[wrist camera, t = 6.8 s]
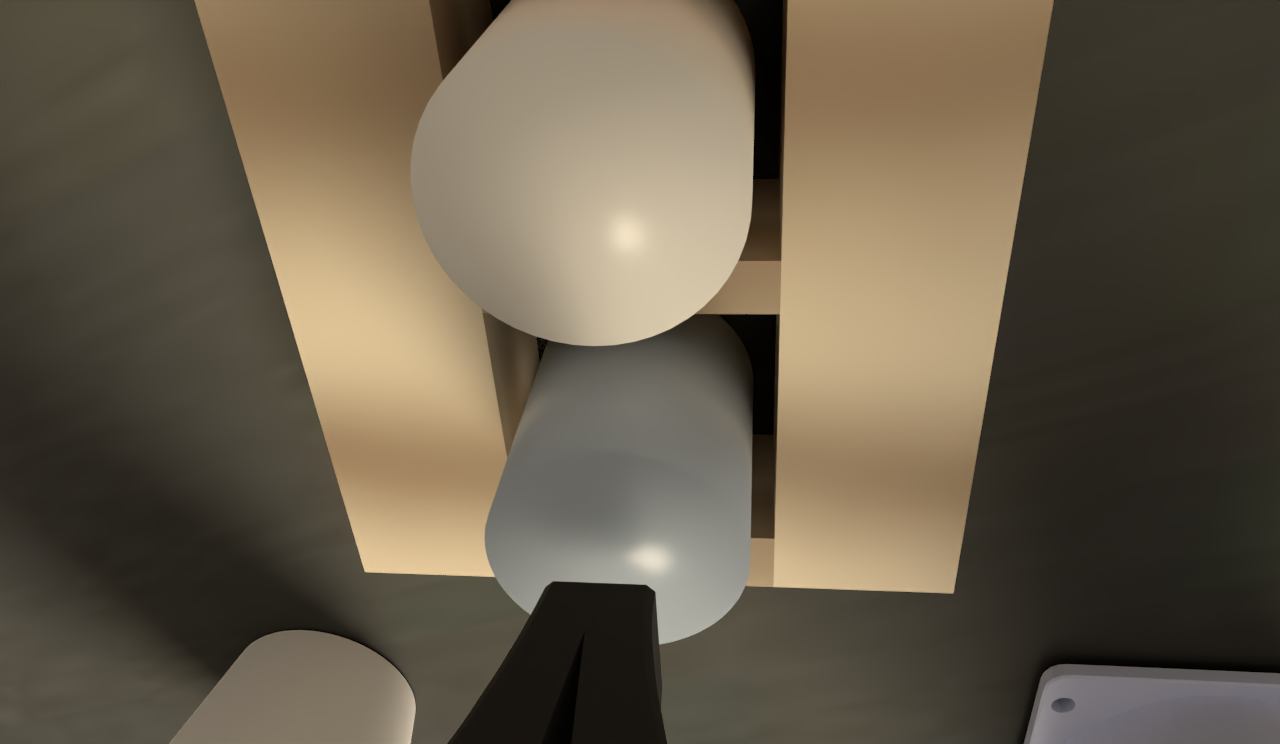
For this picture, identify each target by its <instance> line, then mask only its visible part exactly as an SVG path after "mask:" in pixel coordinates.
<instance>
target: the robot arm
mask: <svg viewBox="0 0 1280 744" xmlns="http://www.w3.org/2000/svg"><path fill="white" fill-rule="evenodd" d="M661 694H662V679H661V665H660V650H659V636H658V622H657V607H656V593H655V591H654V590H652V589H651V588H650V587H649V586H647V585H639V584H613V583H588V582H562V581H552V582H551V583H550V584H549V585H547V586H546V587H545V589H544V590H543V592H542V594H541V596H540V598H539V600H538V602H537V604H536V606H535V608H534V610H533V611H532V613H531V615H530V617H529V619H528V621H527V622H526V624H525V626H524V628H523V629H522V631H521V633H520V635H519V636H518V638H517V640H516V641H515V643H514V645H513V646H512V648H511V650H510V651H509V653H508V654H507V656H506V658H505V659H504V661H503V663H502V664H501V666H500V668H499V669H498V671H497V672H496V674H495V675H494V677H493V678H492V680H491V681H490V683H489V684H488V686H487V687H486V689H485V690H484V692H483V693H482V695H481V696H480V698H479V699H478V701H477V702H476V704H475V705H474V707H473V708H472V710H471V712H470V713H469V715H468V716H467V717H466V719H465V720H464V722H463V723H462V725H461V726H460V727H459V729H458V730H457V731H456V733H455V734H454V736H453V737H452V738H451V740H450V741H449V742H448V744H667V741H666V735H665V730H664V725H663V719H662V714H661ZM1024 744H1280V673H1263V672H1240V671H1218V670H1195V669H1172V668H1149V667H1127V666H1104V665H1081V664H1058V665H1055V666H1052V667H1050V668H1049V669H1048V670H1046V671H1045V672H1044V673H1043V675H1042V676H1041V679H1040V682H1039V686H1038V690H1037V694H1036V698H1035V702H1034V706H1033V710H1032V714H1031V718H1030V721H1029V725H1028V729H1027V733H1026V737H1025V741H1024Z"/></svg>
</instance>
